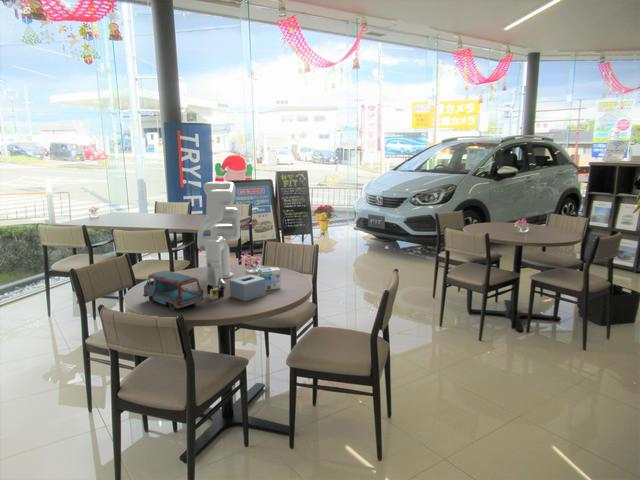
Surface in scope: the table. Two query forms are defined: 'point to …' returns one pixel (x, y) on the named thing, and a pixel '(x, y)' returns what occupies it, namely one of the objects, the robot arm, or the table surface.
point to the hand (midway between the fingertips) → (215, 295)
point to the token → (214, 294)
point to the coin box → (247, 287)
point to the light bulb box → (271, 277)
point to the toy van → (172, 289)
